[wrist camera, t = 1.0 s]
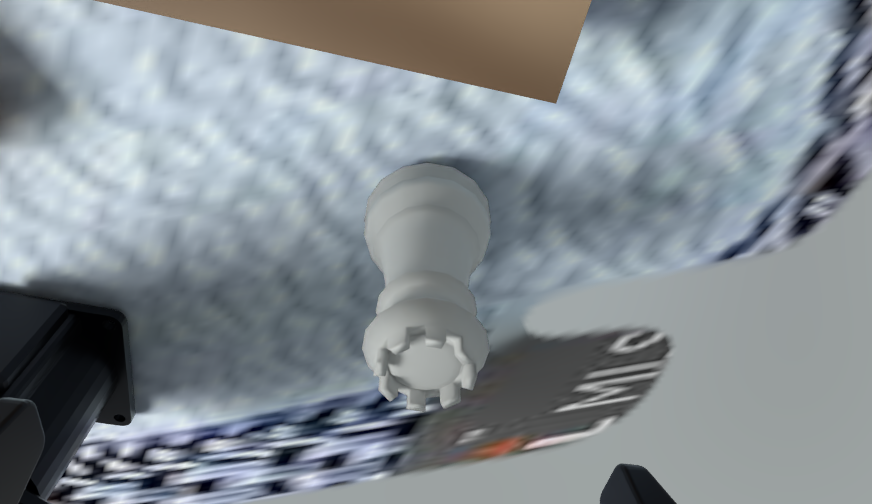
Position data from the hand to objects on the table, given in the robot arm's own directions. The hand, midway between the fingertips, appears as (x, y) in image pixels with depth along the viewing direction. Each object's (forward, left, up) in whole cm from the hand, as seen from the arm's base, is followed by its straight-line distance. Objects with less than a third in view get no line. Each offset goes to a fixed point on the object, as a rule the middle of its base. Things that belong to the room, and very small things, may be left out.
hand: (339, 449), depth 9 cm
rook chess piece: (-2, -2, -12) cm, 13 cm away
